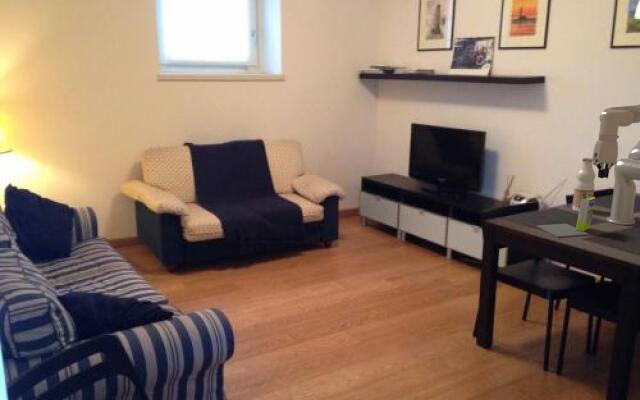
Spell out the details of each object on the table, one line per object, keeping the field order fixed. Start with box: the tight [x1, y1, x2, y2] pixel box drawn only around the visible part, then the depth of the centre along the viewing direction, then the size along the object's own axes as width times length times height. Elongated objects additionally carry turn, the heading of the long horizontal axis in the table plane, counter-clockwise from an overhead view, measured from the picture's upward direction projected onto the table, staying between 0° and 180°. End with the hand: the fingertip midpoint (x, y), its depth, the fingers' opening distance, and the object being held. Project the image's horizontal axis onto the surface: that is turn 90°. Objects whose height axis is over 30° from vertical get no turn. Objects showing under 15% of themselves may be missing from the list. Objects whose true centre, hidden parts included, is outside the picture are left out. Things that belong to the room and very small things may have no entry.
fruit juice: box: [571, 157, 596, 213], centre depth 290 cm, size 9×9×28 cm
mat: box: [536, 223, 590, 238], centre depth 259 cm, size 16×17×1 cm
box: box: [575, 192, 596, 232], centre depth 258 cm, size 10×4×17 cm, turn 139°
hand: (602, 177), depth 255 cm, fingers closed
